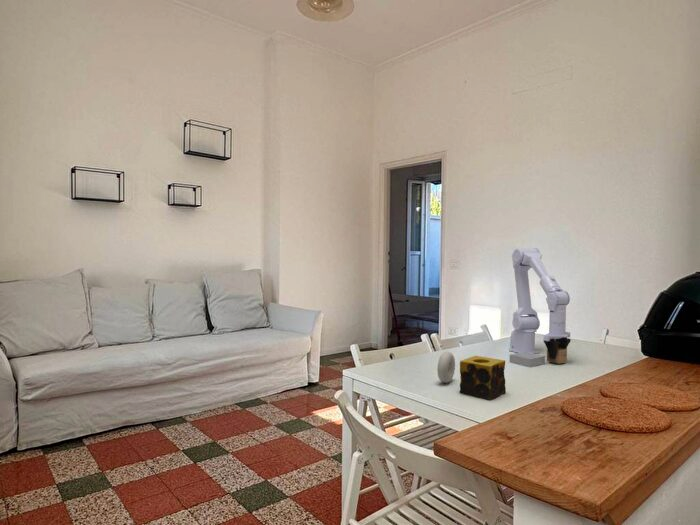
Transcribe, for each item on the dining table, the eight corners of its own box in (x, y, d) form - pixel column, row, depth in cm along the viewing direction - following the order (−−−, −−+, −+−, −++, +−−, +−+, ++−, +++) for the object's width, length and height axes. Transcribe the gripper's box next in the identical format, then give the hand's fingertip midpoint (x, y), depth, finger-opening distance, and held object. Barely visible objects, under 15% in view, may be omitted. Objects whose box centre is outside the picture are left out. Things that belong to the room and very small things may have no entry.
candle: (506, 393, 137) (506, 360, 137) (491, 401, 129) (491, 366, 129) (475, 386, 144) (475, 354, 144) (458, 393, 136) (459, 360, 136)
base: (509, 362, 176) (509, 354, 175) (524, 359, 181) (524, 351, 180) (530, 367, 168) (530, 359, 168) (544, 364, 173) (544, 356, 173)
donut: (445, 387, 143) (446, 355, 142) (435, 385, 144) (435, 354, 144) (456, 379, 151) (456, 349, 151) (446, 378, 153) (446, 348, 153)
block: (546, 361, 176) (547, 348, 175) (554, 359, 178) (554, 346, 178) (559, 363, 171) (559, 350, 171) (566, 362, 174) (566, 349, 174)
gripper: (556, 325, 167) (555, 362, 167) (578, 322, 175) (577, 357, 176) (538, 322, 173) (538, 358, 173) (560, 319, 181) (560, 353, 181)
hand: (556, 357), depth 175 cm, fingers closed on block, 5 cm apart
